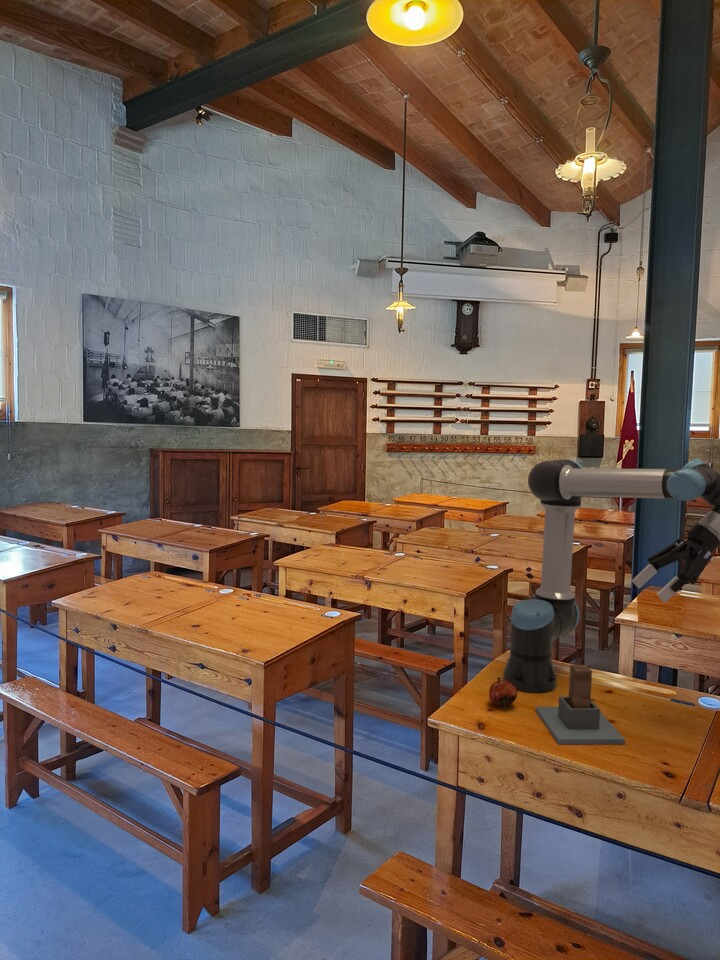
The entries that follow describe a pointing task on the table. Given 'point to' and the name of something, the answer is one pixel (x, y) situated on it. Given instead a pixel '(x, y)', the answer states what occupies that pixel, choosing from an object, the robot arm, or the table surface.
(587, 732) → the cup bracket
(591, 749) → the table surface
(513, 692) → the pomegranate
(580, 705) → the walnut rail post
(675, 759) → the table surface
